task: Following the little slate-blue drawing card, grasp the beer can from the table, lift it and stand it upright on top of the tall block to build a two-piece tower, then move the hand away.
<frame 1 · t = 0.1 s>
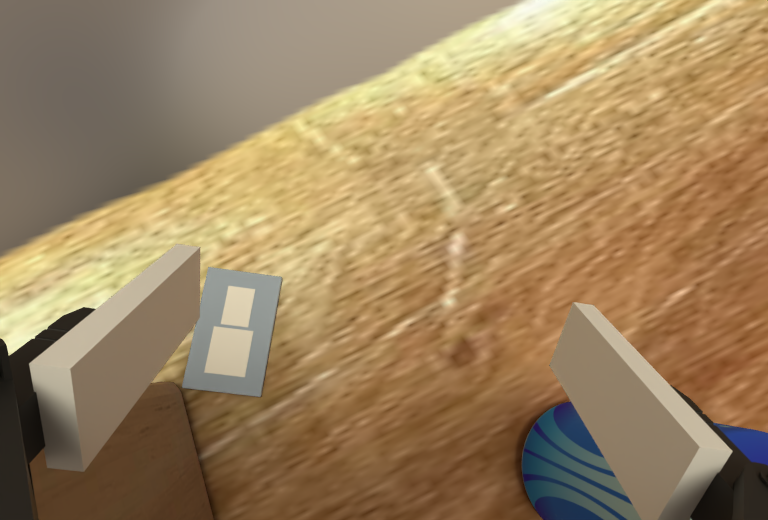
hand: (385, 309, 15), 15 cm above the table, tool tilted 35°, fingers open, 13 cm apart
block: (122, 482, 27), on the table
beer can: (571, 462, 30), on the table
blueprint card: (235, 330, 29), on the table
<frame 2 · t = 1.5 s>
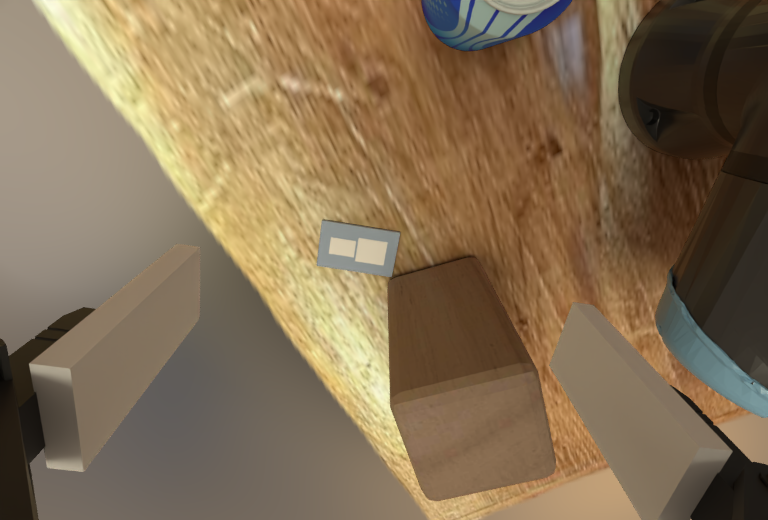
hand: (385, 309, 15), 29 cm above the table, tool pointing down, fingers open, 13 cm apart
block: (441, 303, 48), on the table
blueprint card: (358, 248, 45), on the table
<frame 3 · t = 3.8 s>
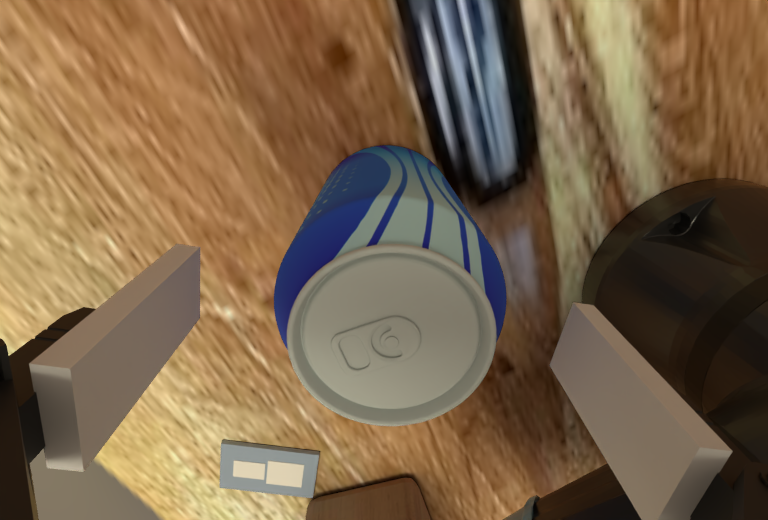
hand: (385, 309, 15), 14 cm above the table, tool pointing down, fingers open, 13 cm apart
block: (376, 518, 40), on the table
beer can: (386, 207, 29), on the table
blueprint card: (269, 467, 37), on the table
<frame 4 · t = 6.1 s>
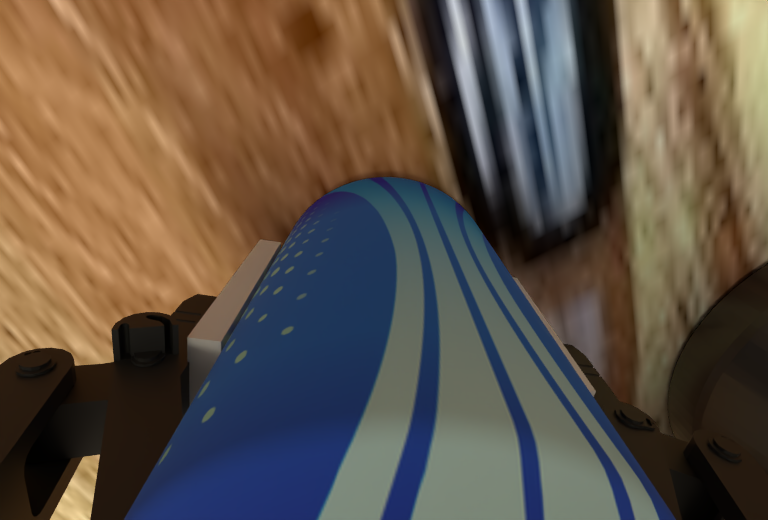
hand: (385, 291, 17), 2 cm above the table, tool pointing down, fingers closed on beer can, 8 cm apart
beer can: (385, 265, 19), on the table, touching gripper
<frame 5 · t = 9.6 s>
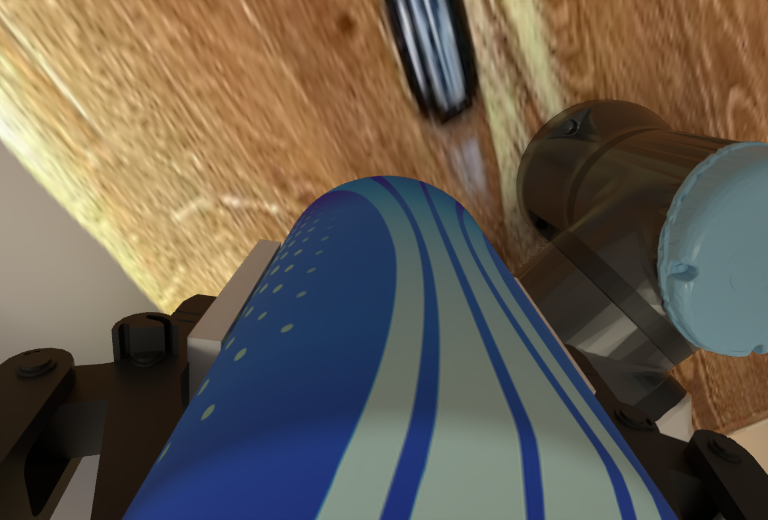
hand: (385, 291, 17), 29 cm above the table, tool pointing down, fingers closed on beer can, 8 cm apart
beer can: (385, 264, 19), point 27 cm above the table, touching gripper
when the fingers open (24 cm above the table, at t = 13.5 s): beer can drops 2 cm, resting on block.
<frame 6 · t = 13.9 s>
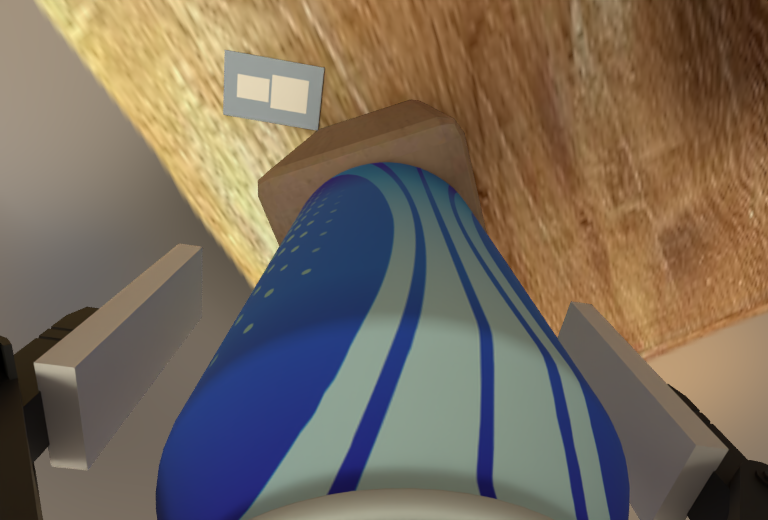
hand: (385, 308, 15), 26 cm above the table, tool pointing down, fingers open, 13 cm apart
block: (381, 169, 39), on the table, touching beer can
beer can: (385, 245, 21), point 20 cm above the table, touching block
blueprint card: (273, 91, 36), on the table
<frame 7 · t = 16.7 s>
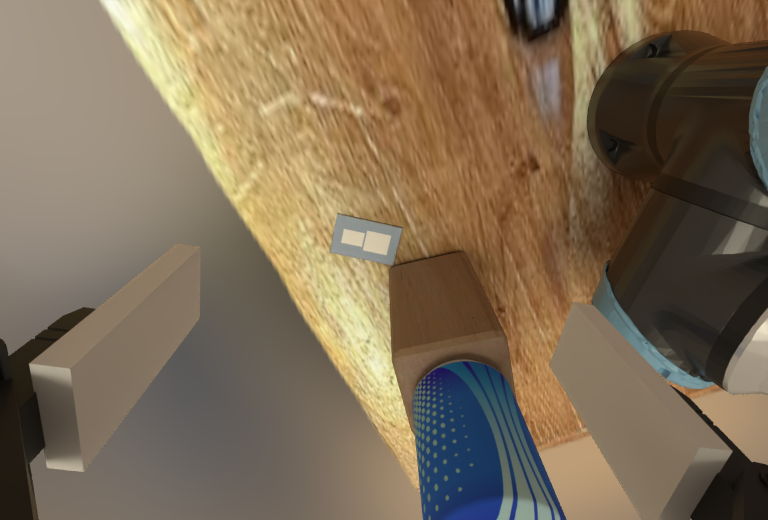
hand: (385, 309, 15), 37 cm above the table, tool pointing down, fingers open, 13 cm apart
block: (433, 290, 56), on the table, touching beer can
beer can: (459, 390, 38), point 20 cm above the table, touching block
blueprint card: (365, 239, 53), on the table
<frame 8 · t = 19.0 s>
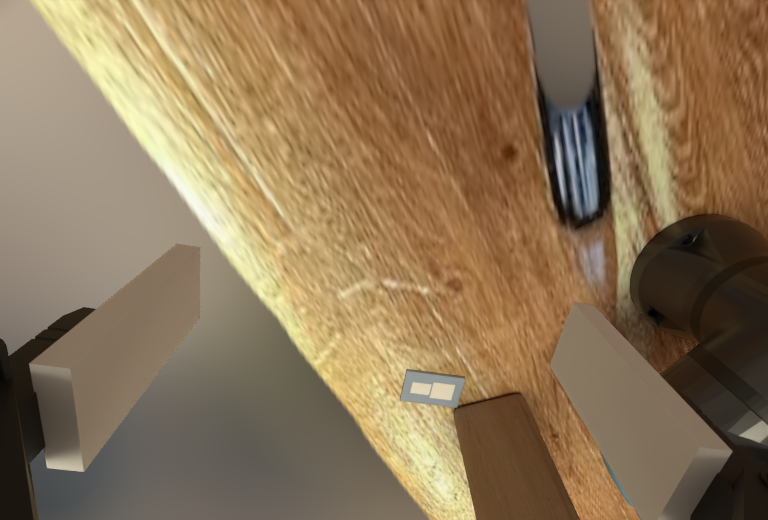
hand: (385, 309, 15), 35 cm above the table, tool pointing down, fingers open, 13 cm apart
block: (492, 423, 62), on the table, touching beer can
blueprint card: (432, 387, 60), on the table
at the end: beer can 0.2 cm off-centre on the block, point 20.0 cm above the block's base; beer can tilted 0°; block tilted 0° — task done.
